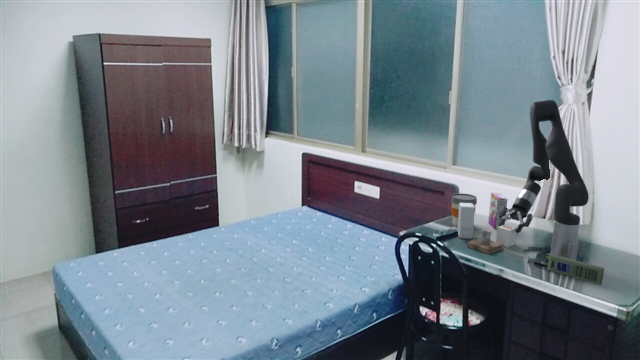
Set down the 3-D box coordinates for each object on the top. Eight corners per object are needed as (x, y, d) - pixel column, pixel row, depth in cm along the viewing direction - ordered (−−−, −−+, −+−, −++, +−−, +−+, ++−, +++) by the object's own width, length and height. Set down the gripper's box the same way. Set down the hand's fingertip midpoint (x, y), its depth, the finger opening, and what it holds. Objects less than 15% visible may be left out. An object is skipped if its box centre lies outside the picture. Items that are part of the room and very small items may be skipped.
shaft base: (502, 248, 216) (504, 231, 214) (488, 254, 209) (490, 236, 207) (481, 241, 224) (483, 225, 222) (467, 246, 217) (468, 229, 216)
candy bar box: (487, 222, 251) (490, 192, 247) (497, 222, 251) (500, 192, 247) (494, 229, 240) (497, 198, 236) (504, 230, 240) (508, 198, 236)
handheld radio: (600, 286, 180) (532, 266, 197) (602, 283, 183) (534, 264, 199) (602, 269, 179) (534, 251, 195) (605, 267, 181) (537, 249, 198)
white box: (514, 244, 221) (516, 227, 219) (507, 247, 217) (509, 230, 215) (503, 240, 225) (504, 224, 223) (495, 243, 222) (497, 226, 220)
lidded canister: (458, 219, 256) (461, 192, 253) (479, 225, 247) (482, 197, 243) (444, 223, 248) (446, 195, 245) (465, 230, 239) (467, 201, 235)
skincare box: (472, 239, 227) (475, 207, 223) (458, 238, 228) (461, 206, 224) (470, 233, 235) (473, 202, 231) (456, 232, 236) (458, 201, 232)
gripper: (508, 193, 228) (491, 221, 224) (536, 200, 217) (520, 229, 213) (513, 202, 232) (497, 229, 228) (541, 209, 221) (525, 238, 217)
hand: (508, 229), depth 220 cm, fingers open, 8 cm apart
